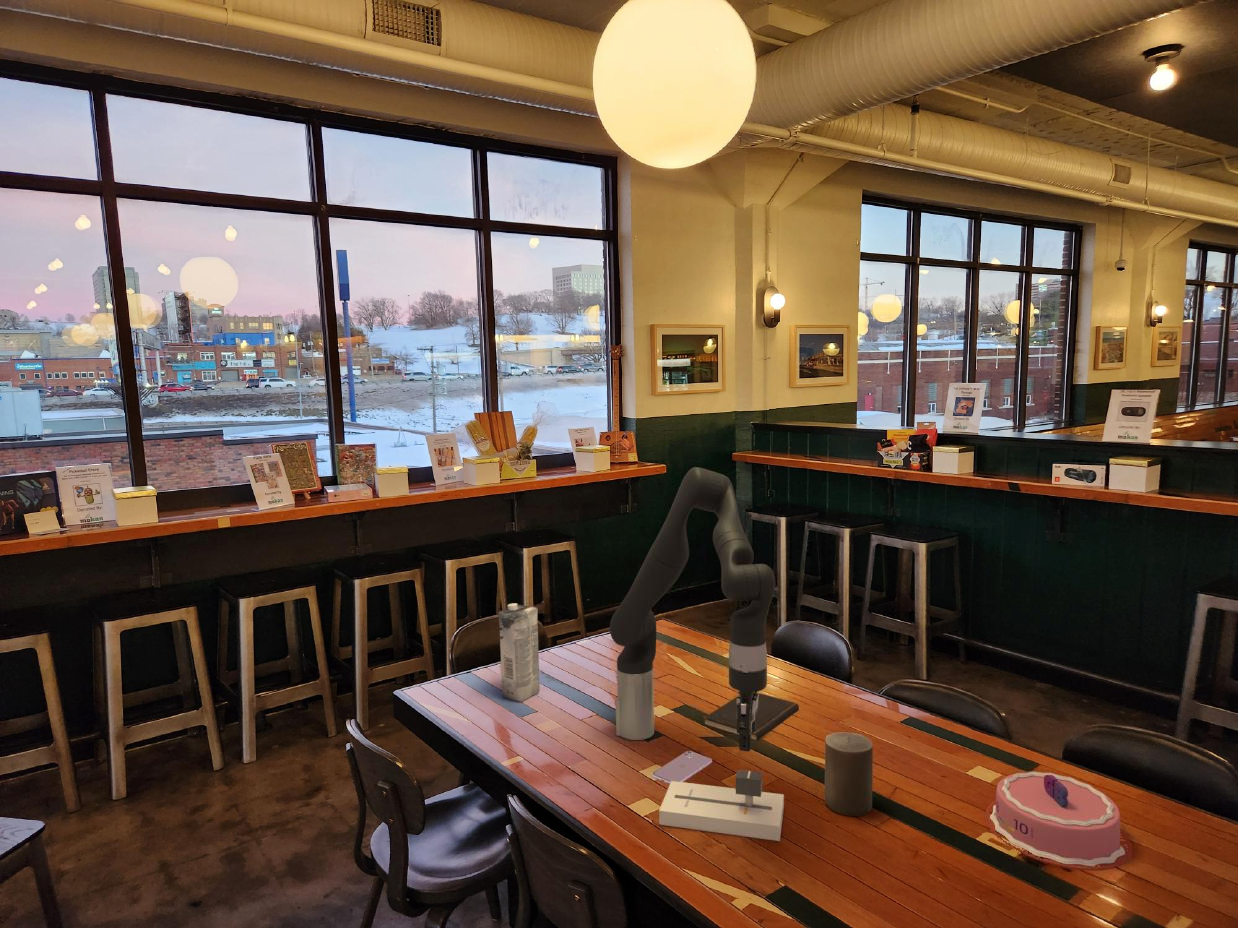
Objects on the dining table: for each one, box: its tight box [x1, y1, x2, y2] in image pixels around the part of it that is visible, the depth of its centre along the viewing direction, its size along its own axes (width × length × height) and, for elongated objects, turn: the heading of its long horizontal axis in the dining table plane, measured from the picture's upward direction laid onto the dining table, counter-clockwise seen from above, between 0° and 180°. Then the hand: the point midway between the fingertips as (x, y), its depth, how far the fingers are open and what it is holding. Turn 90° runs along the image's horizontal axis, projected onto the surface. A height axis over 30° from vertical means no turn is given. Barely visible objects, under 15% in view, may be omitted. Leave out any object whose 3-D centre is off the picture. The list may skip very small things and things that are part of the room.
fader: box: [735, 769, 763, 807], centre depth 154 cm, size 5×3×6 cm, turn 74°
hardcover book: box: [703, 692, 800, 742], centre depth 203 cm, size 16×23×2 cm
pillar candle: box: [824, 731, 874, 817], centre depth 159 cm, size 10×10×15 cm
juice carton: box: [497, 602, 541, 703], centre depth 220 cm, size 9×10×27 cm
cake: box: [984, 771, 1133, 871], centre depth 148 cm, size 25×25×11 cm
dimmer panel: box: [658, 781, 785, 842], centre depth 156 cm, size 24×12×3 cm, turn 74°
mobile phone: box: [651, 750, 713, 785], centre depth 176 cm, size 8×1×15 cm
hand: (747, 740), depth 153 cm, fingers open, 8 cm apart
